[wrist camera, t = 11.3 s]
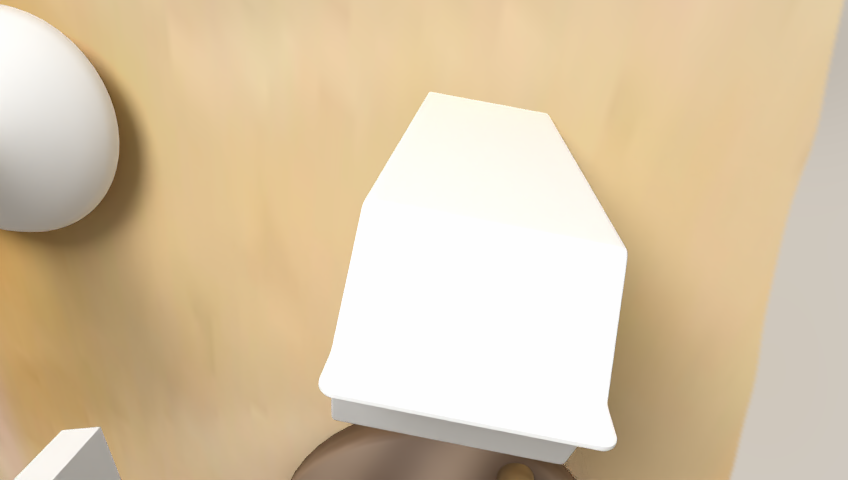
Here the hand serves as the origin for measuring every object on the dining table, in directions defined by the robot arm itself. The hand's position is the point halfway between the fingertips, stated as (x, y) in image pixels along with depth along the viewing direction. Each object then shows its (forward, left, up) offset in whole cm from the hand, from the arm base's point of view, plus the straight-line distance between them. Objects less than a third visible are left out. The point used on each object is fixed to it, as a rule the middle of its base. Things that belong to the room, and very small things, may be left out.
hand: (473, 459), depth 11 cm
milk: (0, 0, -24) cm, 24 cm away
